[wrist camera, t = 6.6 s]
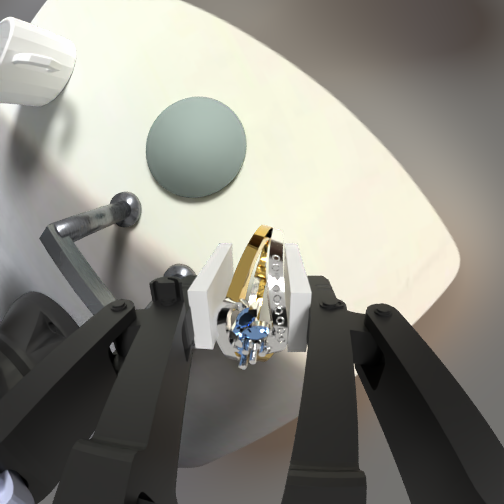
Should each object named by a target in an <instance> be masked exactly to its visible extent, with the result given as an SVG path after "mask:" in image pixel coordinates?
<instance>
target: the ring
mask: <svg viewBox="0 0 504 504" xmlns="http://www.w3.org/2000/svg"><path fill="white" fill-rule="evenodd" d="M283 236H284V232H283V230H281V229H278V228H275V227H270V226H267V225H261V226H260V227H259V228H258V229H257V230H256V232H255V233H254V235H253V236H252V238H251V239H250V241H249V243H248V245H247V247H246V249H245V251H244V253H243V255H242V257H241V259H240V261H239V263H238V266H237V268H236V271H235V273H234V276H233V278H232V281H231V283H230V286H229V289H228V292H227V295H226V298H225V300H223V301H222V302H221V303H220V304H219V305H218V306H217V308H216V310H215V312H214V315H213V322H212V325H213V332H214V335H215V338H216V341H217V343H218V345H219V347H220V349H221V350H222V352H223V354H224V355H225V356H226V357H227V358H229V359H233V360H238V361H239V364H238V367H239V368H241V369H243V370H245V369H246V368H247V364H248V358H249V356H250V359H249V363H250V364H255V363H256V361H259V362H265V361H267V360H268V359H269V358H270V357H271V356H272V355H273V353H275V352H280V351H282V350H284V349H285V347H286V346H287V343H288V334H289V330H288V320H287V312H286V304H285V294H284V281H283ZM261 250H262V252H261ZM260 252H261V256H260V261H259V262H258V265H257V268H256V272H255V276H254V277H255V279H254V282H253V286H252V290H251V294H250V298H249V302H247V301H246V300H245V297H246V293H247V288H248V284H249V281H250V277H251V274H252V271H253V268H254V265H255V263H256V260H257V258H258V256H259V254H260ZM265 285H266V286H267V298H268V306H269V313H270V319H271V322H269V323H267V322H264V321H259V315H260V308H261V302H262V297H263V293H264V289H265ZM234 310H238V311H240V312H239V314H238V316H237V318H236V321H235V322H234V324H233V326H232V327H231V321H230V319H231V314H232V312H233V311H234Z"/></svg>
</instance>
